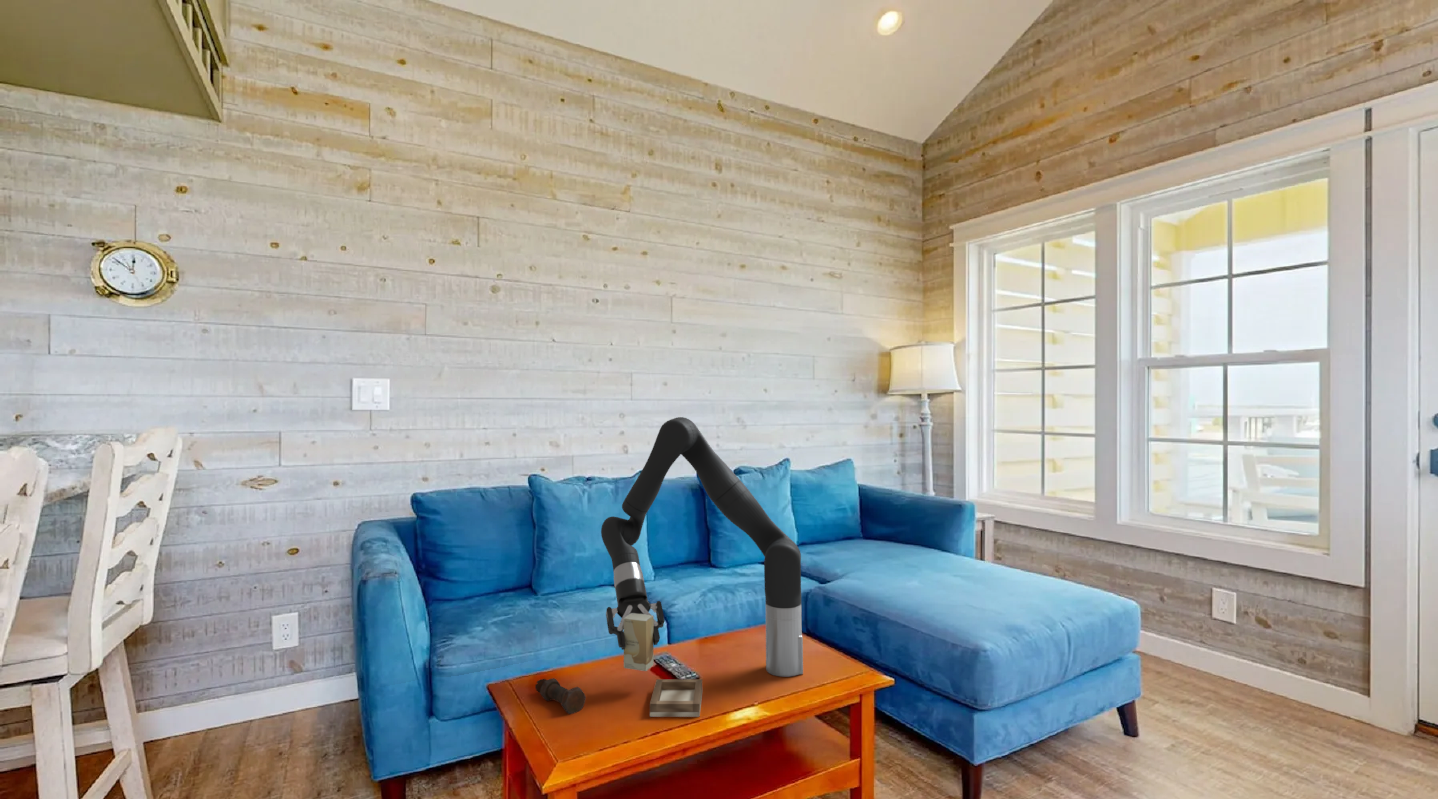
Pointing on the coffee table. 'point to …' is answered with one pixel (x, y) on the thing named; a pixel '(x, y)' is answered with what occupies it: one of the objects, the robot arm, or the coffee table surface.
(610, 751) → the coffee table surface
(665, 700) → the tray
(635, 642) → the skincare box
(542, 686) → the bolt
